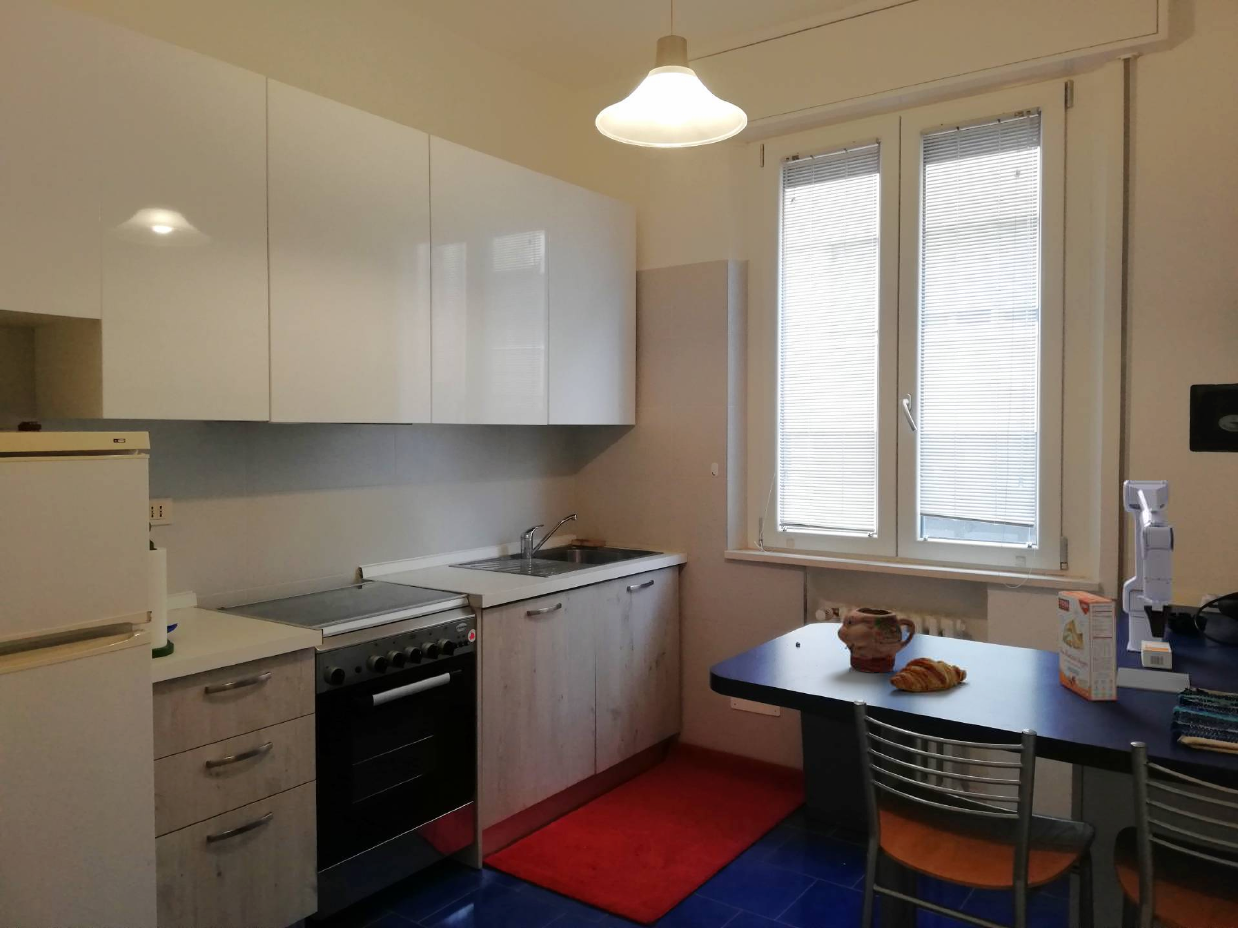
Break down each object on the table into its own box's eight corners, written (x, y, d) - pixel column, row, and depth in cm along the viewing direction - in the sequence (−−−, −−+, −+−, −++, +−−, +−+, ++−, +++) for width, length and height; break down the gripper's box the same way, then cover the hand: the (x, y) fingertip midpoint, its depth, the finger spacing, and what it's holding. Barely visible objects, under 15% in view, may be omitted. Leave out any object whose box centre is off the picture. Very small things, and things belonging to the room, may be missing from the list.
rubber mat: (1118, 669, 214) (1118, 667, 214) (1188, 675, 207) (1188, 674, 207) (1114, 686, 199) (1115, 684, 199) (1190, 694, 191) (1190, 692, 191)
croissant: (955, 693, 208) (943, 659, 211) (986, 681, 200) (973, 646, 203) (883, 703, 199) (872, 667, 202) (913, 691, 191) (900, 654, 194)
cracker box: (1057, 684, 201) (1056, 590, 201) (1085, 683, 201) (1084, 590, 201) (1088, 701, 187) (1087, 600, 187) (1117, 701, 187) (1117, 600, 187)
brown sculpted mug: (898, 659, 227) (897, 603, 227) (928, 670, 216) (928, 611, 216) (827, 665, 221) (827, 609, 221) (855, 677, 210) (854, 617, 209)
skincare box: (1142, 648, 216) (1140, 639, 226) (1142, 666, 216) (1140, 656, 226) (1172, 651, 213) (1169, 641, 223) (1172, 669, 213) (1169, 659, 224)
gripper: (1138, 573, 217) (1138, 629, 218) (1136, 581, 205) (1137, 641, 205) (1172, 575, 214) (1173, 632, 214) (1173, 583, 201) (1173, 644, 201)
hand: (1157, 637), depth 209 cm, fingers closed
